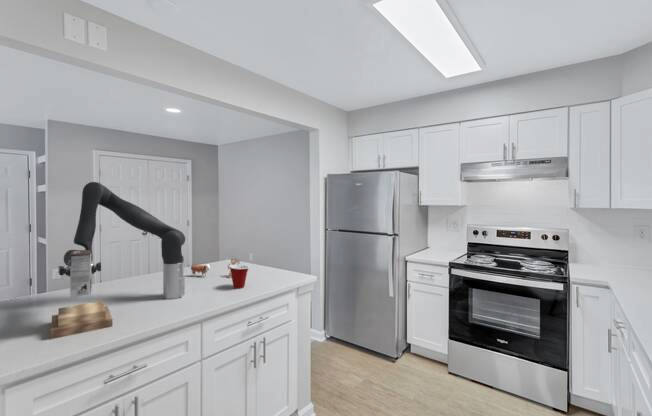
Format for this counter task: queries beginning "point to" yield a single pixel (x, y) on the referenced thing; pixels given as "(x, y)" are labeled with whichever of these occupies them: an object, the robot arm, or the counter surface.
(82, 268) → the coffee box
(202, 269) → the bull figurine
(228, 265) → the tan wooden handled piece
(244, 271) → the plastic cup
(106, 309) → the plinth
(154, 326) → the counter surface
